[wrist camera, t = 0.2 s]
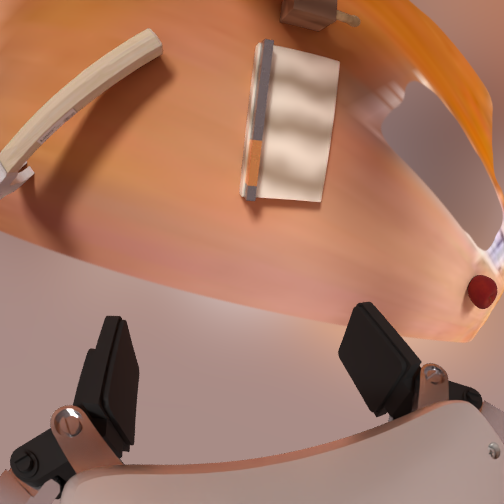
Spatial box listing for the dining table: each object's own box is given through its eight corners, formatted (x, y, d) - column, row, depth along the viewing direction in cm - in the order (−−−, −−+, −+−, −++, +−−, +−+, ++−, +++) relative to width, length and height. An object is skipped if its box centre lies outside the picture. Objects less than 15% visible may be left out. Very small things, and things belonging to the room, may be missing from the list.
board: (255, 46, 30) (258, 42, 28) (333, 63, 33) (339, 61, 31) (239, 193, 39) (241, 196, 38) (315, 198, 42) (320, 202, 40)
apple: (472, 268, 61) (494, 285, 52) (483, 270, 63) (504, 286, 54) (458, 296, 64) (479, 314, 55) (471, 296, 67) (490, 312, 58)
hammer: (150, 2, 18) (-52, 188, 14) (171, 28, 20) (-35, 217, 16) (144, 52, 32) (1, 177, 28) (159, 72, 34) (15, 198, 30)
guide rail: (261, 42, 28) (264, 38, 27) (269, 44, 29) (273, 40, 27) (243, 196, 38) (246, 200, 36) (252, 197, 38) (255, 200, 36)
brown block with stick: (282, 2, 27) (295, -14, 22) (345, 20, 29) (365, 10, 24) (279, 22, 29) (293, 8, 24) (343, 40, 31) (364, 31, 26)
